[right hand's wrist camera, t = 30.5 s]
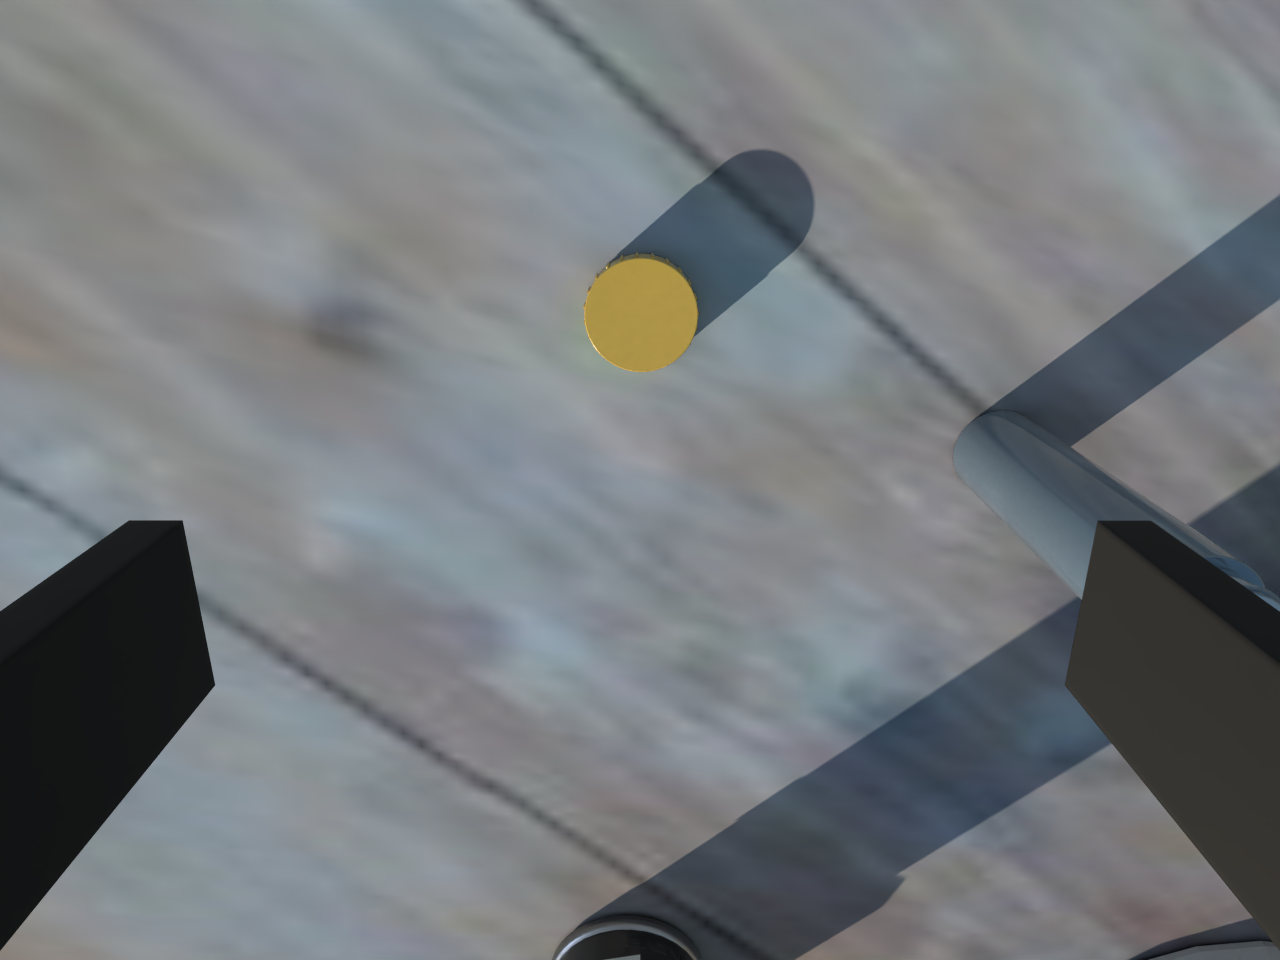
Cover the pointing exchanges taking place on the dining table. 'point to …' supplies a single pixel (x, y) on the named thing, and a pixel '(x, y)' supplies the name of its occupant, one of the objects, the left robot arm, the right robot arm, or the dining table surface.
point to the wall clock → (1227, 952)
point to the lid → (641, 312)
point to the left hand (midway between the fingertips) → (1237, 594)
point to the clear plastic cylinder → (1066, 499)
